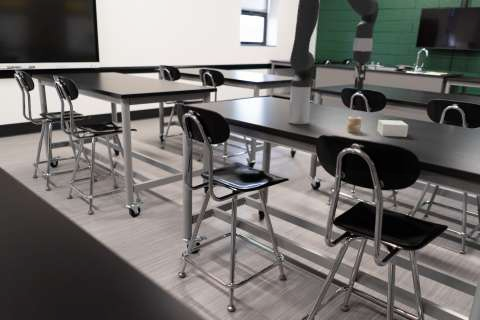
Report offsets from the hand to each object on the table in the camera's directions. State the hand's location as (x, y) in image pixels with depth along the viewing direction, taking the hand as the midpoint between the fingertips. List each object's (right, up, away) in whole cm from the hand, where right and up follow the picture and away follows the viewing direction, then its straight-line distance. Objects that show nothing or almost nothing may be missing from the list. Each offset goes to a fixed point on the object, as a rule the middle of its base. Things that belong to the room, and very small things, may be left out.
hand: (358, 89), depth 170 cm
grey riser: (+15, -19, +3) cm, 24 cm away
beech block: (-1, -17, +5) cm, 18 cm away
